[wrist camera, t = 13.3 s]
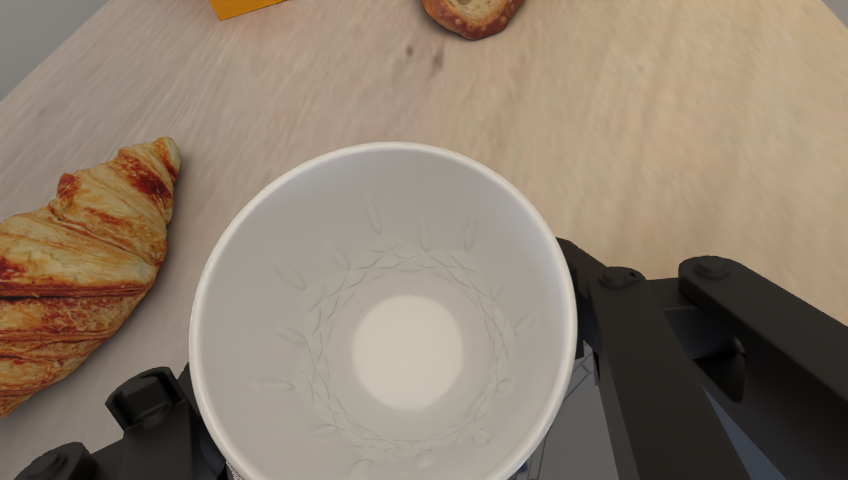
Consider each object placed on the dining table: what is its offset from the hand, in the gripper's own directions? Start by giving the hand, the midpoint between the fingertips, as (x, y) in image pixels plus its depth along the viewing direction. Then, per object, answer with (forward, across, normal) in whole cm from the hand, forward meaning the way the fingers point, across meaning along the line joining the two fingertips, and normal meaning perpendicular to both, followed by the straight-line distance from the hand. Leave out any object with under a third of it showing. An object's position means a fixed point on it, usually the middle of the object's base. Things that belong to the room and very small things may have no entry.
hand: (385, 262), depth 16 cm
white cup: (0, 0, -5) cm, 5 cm away
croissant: (+15, -20, -2) cm, 25 cm away
